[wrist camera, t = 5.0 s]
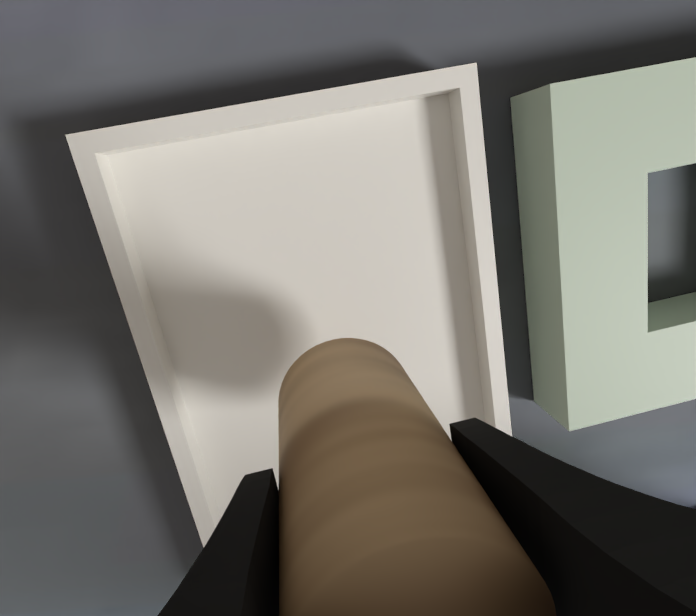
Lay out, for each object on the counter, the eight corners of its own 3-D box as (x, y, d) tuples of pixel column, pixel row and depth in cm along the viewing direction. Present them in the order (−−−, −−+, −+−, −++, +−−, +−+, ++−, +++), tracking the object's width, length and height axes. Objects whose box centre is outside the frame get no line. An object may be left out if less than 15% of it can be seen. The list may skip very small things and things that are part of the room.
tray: (499, 510, 21) (522, 543, 19) (233, 582, 20) (229, 624, 18) (452, 76, 16) (476, 62, 14) (91, 140, 15) (65, 134, 13)
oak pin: (417, 442, 15) (562, 715, 7) (293, 472, 15) (311, 792, 7) (399, 325, 14) (548, 504, 6) (264, 354, 14) (248, 583, 6)
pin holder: (785, 338, 21) (850, 358, 19) (533, 401, 20) (569, 431, 18) (811, 42, 18) (896, 20, 15) (510, 97, 17) (549, 83, 14)
